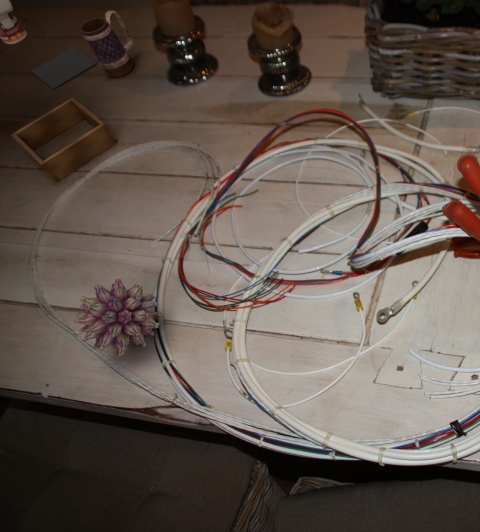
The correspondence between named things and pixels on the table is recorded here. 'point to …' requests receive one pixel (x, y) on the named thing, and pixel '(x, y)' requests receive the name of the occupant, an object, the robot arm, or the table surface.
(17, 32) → the pill bottle
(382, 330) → the table surface
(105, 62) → the mug
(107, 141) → the storage box
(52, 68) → the mat
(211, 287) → the table surface
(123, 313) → the flower
